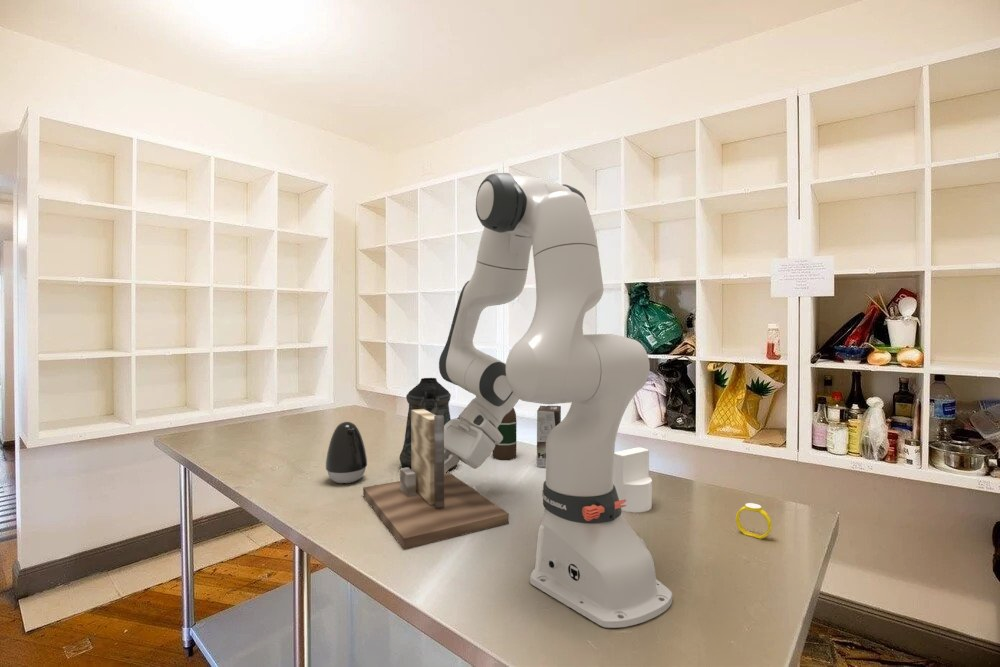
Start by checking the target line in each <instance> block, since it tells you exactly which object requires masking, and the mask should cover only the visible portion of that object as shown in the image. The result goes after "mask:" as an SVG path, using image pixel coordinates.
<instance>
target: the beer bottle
mask: <svg viewBox="0 0 1000 667" xmlns="http://www.w3.org/2000/svg"><path fill="white" fill-rule="evenodd" d="M497 429H498V430H499V432H500V433H501V435H502V436H503V440H502V441H501V442H500V443H499V444H495V448H494V450H493V451H492V458H493V459H495V458H496V459H495V460H498V459H499V460H498V461H510V459H511V460H514V459H516V458H517V413H516V410H515V408H514V407H513V409H512V410H511V411H510V412H509V413H507V414H506V415H505V416H504V417H503V419H502V422H501V424H500V425H499V426H498V428H497ZM513 458H514V459H513Z"/></svg>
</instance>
